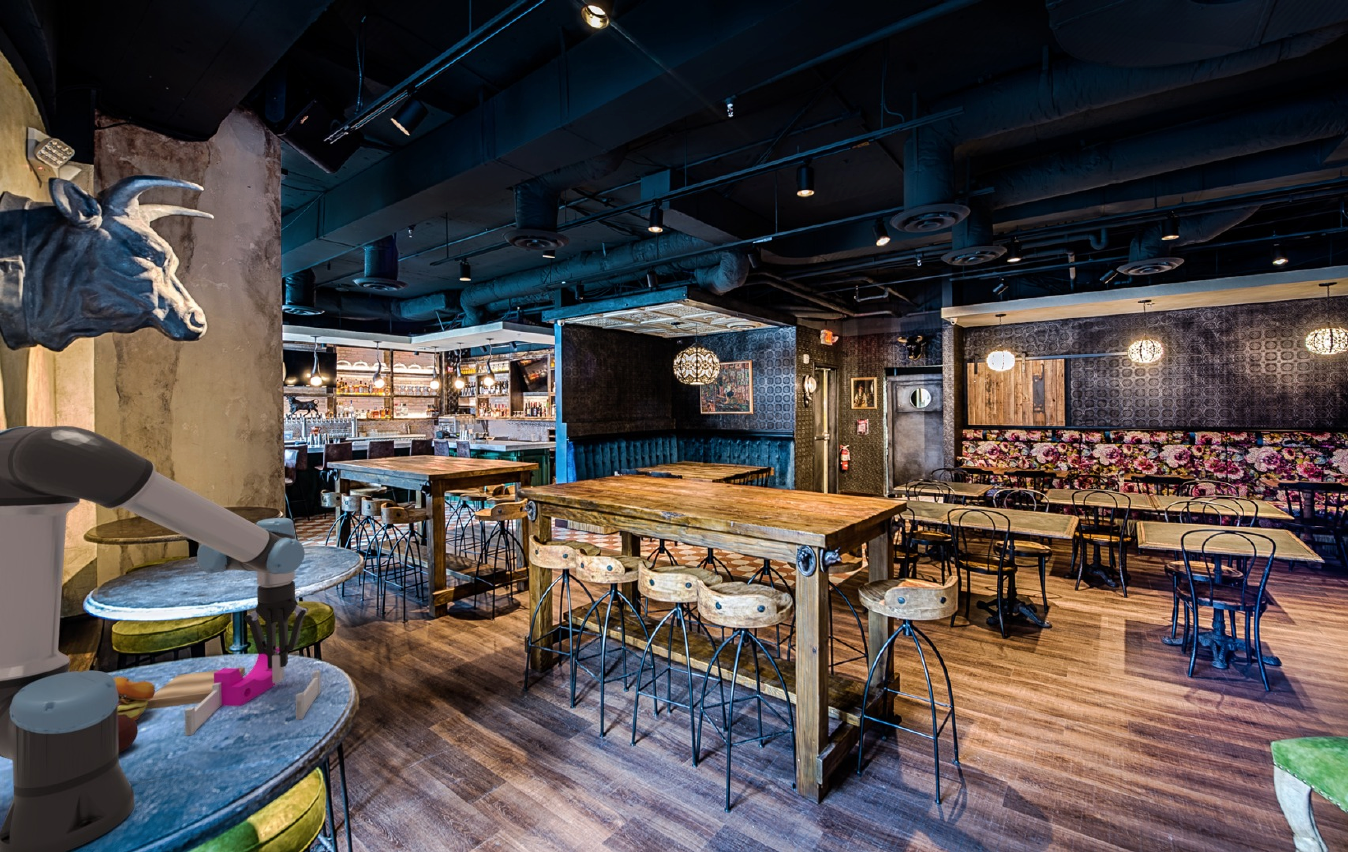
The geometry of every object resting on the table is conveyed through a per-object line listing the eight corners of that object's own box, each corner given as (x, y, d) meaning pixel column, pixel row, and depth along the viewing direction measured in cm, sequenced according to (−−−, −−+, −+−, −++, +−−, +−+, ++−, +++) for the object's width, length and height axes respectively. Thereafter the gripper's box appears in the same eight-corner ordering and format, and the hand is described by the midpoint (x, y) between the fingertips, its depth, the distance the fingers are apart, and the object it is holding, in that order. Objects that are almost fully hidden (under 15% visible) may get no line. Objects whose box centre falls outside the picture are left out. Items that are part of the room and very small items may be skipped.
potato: (87, 769, 107) (86, 731, 107) (83, 754, 112) (82, 718, 112) (141, 751, 112) (140, 715, 112) (135, 738, 117) (134, 703, 117)
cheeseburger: (62, 726, 119) (86, 674, 122) (123, 724, 128) (144, 675, 131) (89, 733, 115) (113, 678, 119) (150, 730, 124) (170, 680, 128)
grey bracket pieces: (302, 718, 124) (301, 694, 124) (185, 735, 118) (184, 710, 118) (320, 691, 136) (320, 669, 136) (215, 705, 130) (214, 683, 130)
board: (219, 700, 133) (218, 691, 133) (145, 709, 129) (144, 700, 129) (244, 674, 146) (244, 666, 146) (178, 682, 142) (178, 674, 142)
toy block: (240, 706, 130) (239, 673, 130) (214, 705, 131) (213, 673, 131) (289, 676, 145) (288, 647, 145) (266, 676, 146) (265, 647, 145)
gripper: (311, 576, 144) (313, 670, 144) (251, 581, 140) (252, 677, 141) (302, 584, 137) (304, 682, 137) (237, 589, 133) (239, 691, 133)
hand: (278, 680), depth 139 cm, fingers closed
